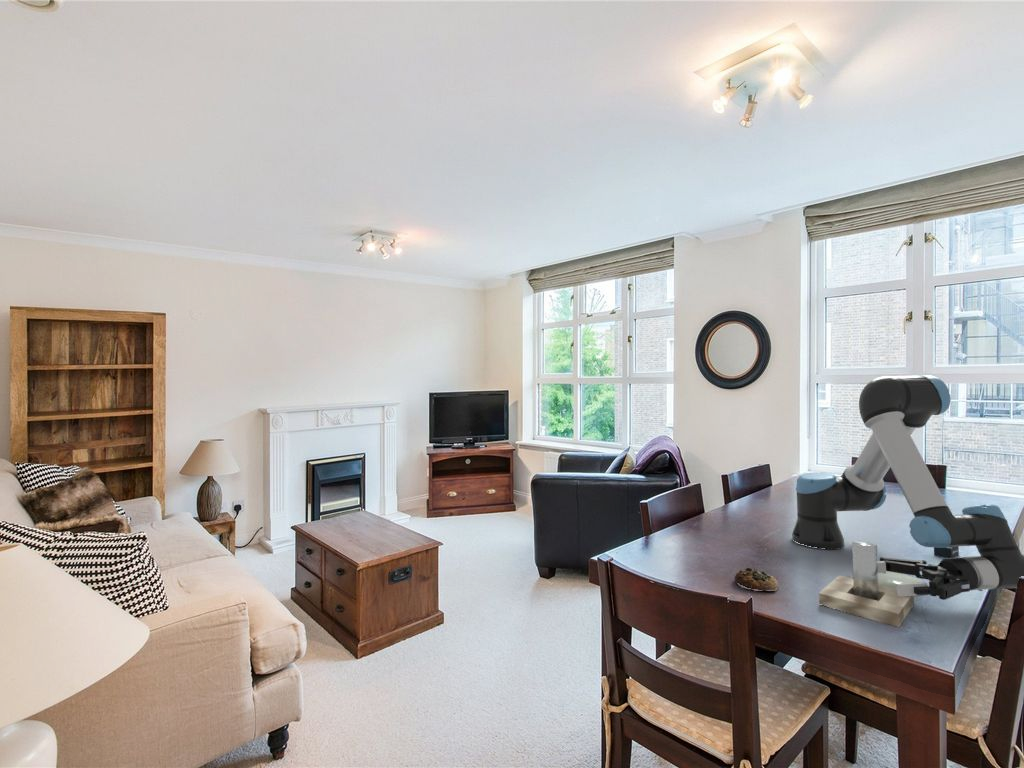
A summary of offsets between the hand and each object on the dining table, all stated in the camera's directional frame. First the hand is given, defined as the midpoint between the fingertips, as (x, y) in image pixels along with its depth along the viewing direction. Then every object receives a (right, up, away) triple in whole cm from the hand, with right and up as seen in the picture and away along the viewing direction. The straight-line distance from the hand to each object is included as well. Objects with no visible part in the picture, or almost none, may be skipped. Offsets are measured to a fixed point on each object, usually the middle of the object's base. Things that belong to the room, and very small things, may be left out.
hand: (877, 578), depth 123 cm
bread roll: (-22, -8, +16) cm, 28 cm away
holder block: (-2, -7, +1) cm, 7 cm away
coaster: (+15, -7, +13) cm, 21 cm away
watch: (+46, -6, +34) cm, 57 cm away
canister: (-2, -7, +1) cm, 7 cm away
